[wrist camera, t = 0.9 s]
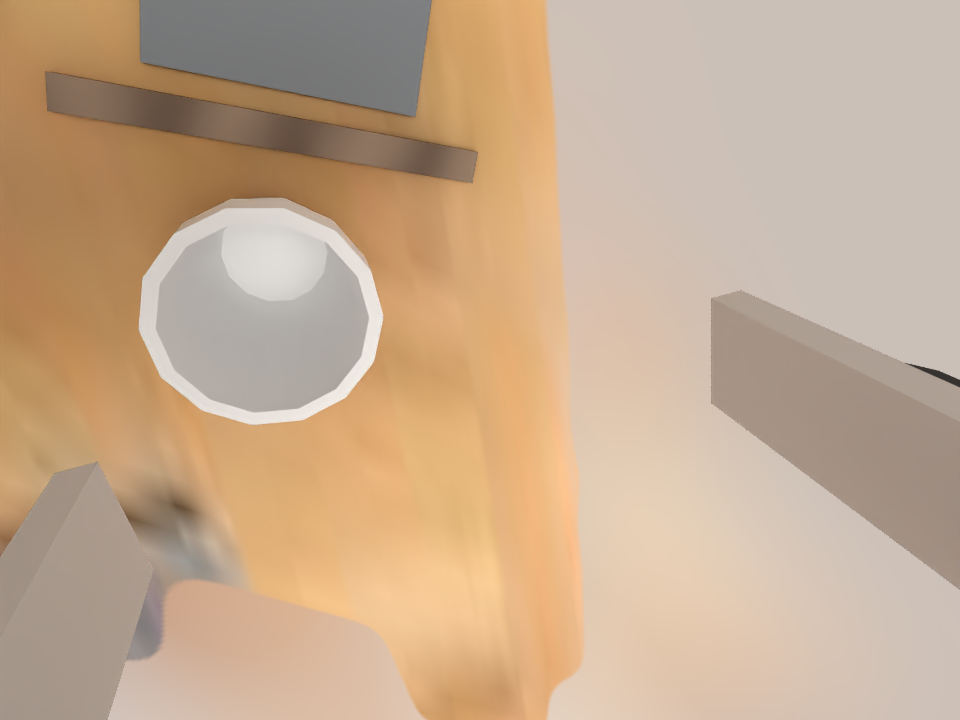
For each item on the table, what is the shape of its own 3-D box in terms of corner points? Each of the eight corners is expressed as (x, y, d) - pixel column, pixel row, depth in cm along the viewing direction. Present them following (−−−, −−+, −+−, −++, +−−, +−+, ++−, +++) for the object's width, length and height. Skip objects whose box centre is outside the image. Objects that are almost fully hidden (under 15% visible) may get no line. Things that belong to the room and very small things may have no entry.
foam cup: (151, 239, 35) (80, 312, 23) (277, 132, 34) (268, 153, 23) (274, 353, 39) (266, 462, 28) (386, 260, 39) (425, 332, 27)
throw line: (54, 110, 31) (47, 111, 30) (52, 72, 31) (45, 71, 30) (468, 181, 38) (472, 183, 37) (473, 150, 37) (477, 152, 37)
